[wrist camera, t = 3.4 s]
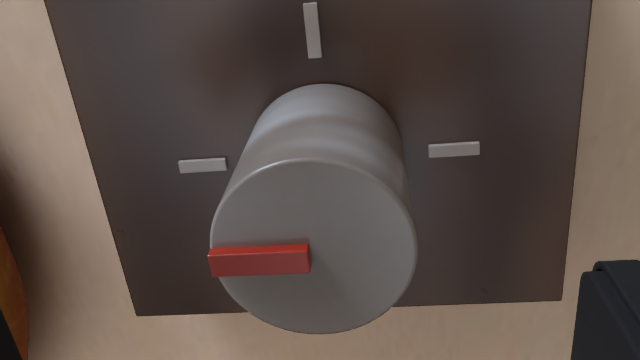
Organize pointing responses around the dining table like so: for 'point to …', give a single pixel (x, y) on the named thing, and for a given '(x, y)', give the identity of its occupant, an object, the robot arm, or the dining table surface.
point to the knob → (317, 214)
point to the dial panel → (350, 71)
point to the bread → (13, 298)
